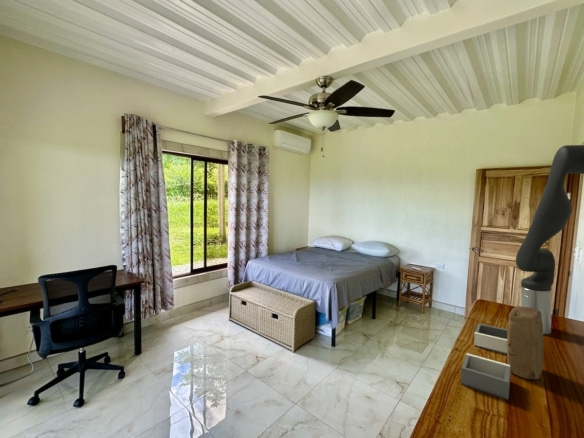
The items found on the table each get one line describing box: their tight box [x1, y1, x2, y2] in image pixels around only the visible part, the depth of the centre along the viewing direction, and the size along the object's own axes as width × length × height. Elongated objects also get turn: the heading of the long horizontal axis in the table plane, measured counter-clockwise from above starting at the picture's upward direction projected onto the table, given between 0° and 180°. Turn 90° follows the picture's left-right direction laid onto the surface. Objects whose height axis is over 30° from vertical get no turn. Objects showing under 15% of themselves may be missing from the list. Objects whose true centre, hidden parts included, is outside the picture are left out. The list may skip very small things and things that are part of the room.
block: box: [506, 305, 545, 380], centre depth 86 cm, size 11×8×20 cm
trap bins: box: [460, 323, 511, 401], centre depth 92 cm, size 37×11×5 cm, turn 140°
